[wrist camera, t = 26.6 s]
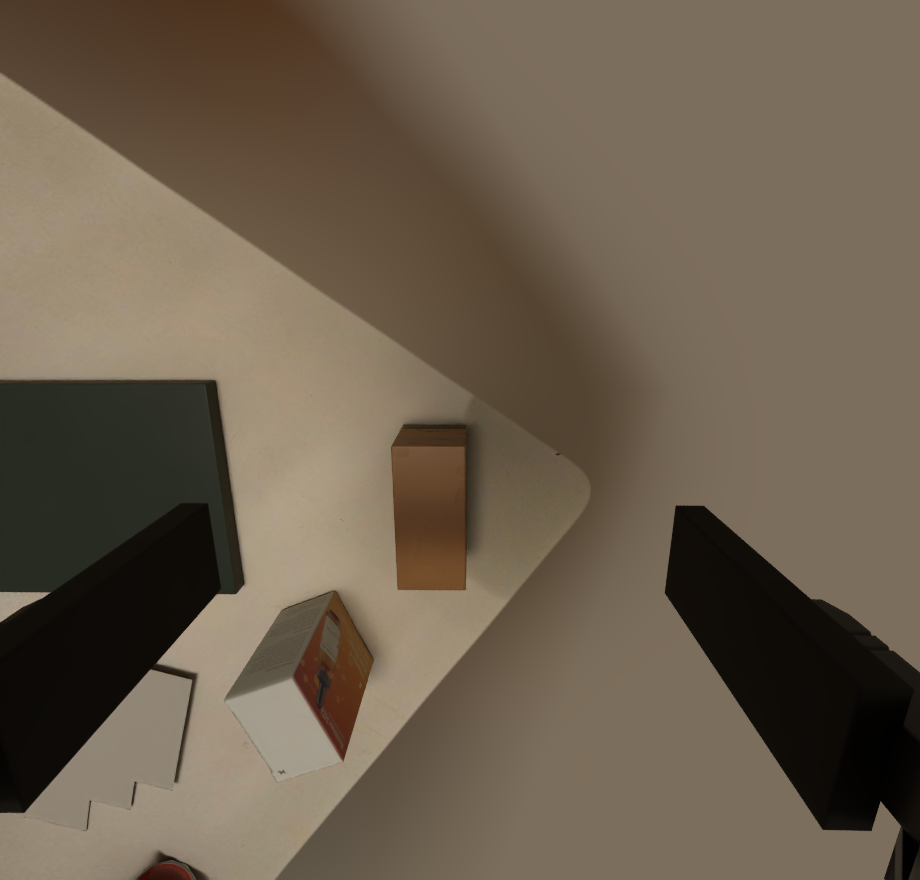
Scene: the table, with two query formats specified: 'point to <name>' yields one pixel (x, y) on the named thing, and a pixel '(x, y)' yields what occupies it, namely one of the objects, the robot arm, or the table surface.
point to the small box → (303, 688)
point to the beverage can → (167, 871)
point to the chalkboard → (105, 473)
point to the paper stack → (121, 754)
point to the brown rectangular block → (430, 506)
